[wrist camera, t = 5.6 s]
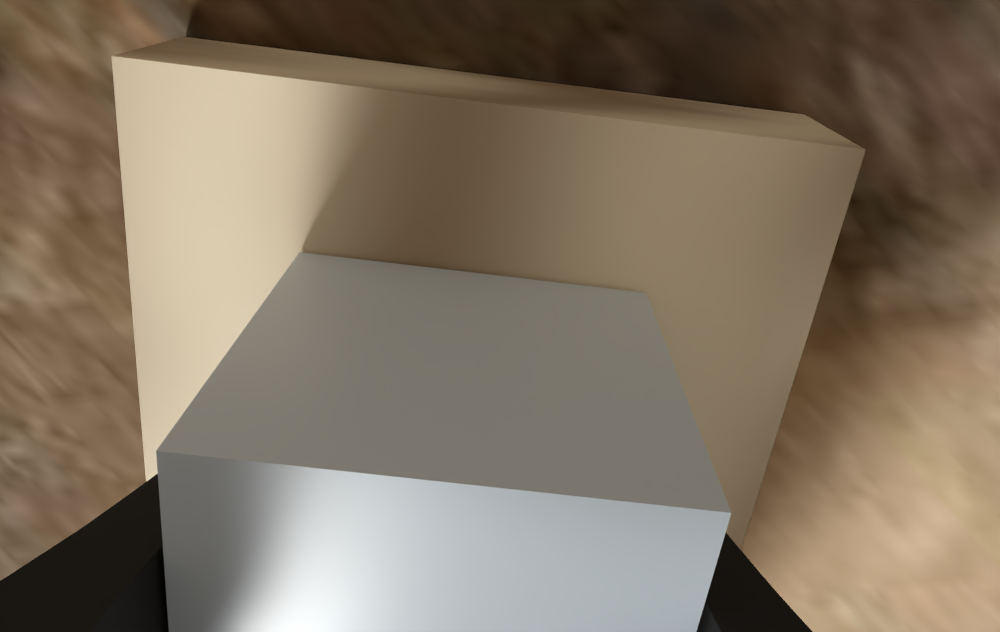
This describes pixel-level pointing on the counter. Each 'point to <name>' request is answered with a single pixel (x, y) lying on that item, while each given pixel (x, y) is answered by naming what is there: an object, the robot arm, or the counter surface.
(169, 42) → the base
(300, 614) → the block
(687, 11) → the counter surface
